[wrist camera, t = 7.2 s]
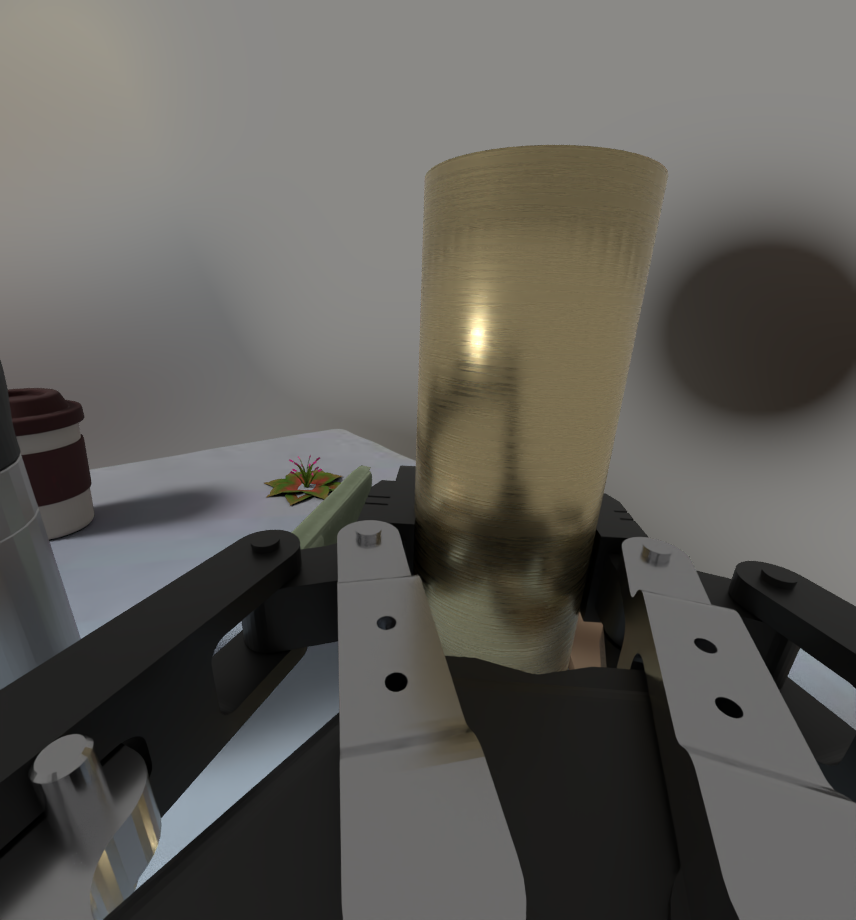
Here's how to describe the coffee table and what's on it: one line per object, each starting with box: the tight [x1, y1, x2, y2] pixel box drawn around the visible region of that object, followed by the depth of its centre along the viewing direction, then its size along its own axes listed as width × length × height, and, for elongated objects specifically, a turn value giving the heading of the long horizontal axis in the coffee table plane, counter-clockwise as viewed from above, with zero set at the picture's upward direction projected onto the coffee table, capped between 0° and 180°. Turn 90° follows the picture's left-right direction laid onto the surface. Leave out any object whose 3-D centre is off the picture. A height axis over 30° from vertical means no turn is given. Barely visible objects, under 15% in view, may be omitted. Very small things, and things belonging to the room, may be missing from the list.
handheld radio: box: [292, 465, 372, 549], centre depth 45 cm, size 7×3×25 cm
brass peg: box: [414, 145, 668, 674], centre depth 10 cm, size 4×4×17 cm
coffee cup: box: [8, 388, 94, 540], centre depth 45 cm, size 10×10×15 cm
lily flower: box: [264, 455, 342, 506], centre depth 60 cm, size 12×12×5 cm
